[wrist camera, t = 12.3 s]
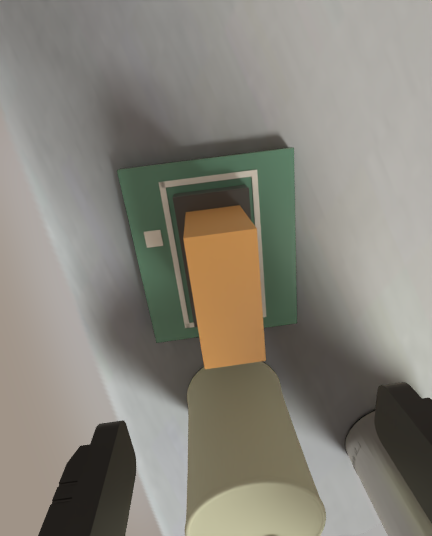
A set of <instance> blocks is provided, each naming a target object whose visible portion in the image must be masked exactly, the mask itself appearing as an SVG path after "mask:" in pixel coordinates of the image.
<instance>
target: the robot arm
mask: <svg viewBox="0 0 432 536" xmlns="http://www.w3.org/2000/svg"><path fill="white" fill-rule="evenodd" d="M345 445H346V451H347V453H348V456H349V458H350V460H351V462H352V464H353V467H354V469H355V471H356V473H357V475H358V476H359V478H360V480H361V482H362V484H363V486H364V488H365V490H366V492H367V494H368V496H369V498H370V500H371V502H372V504H373V506H374V508H375V510H376V512H377V514H378V517H379V519H380V521H381V523H382V525H383V526H384V528H385V531H386V533H387V534H388V536H432V400H431V399H430V398H423V399H422V398H421V397H420V396H419V395H418V394H417V393H416V392H415V391H414V389H413V388H412V387H411V386H410V385H409V384H407V383H405V382H402V383H395V384H387V385H380V386H379V387H378V391H377V400H376V409H375V411H373V412H371V413H369V414H368V415H366V416H364V417H363V418H361V419H360V420H359V421H358V422H357V423H356V424H355V425H354V426H353V427H352V429H351V430H350V431H349V433H348V436H347V438H346V443H345ZM135 476H136V456H135V452H134V449H133V445H132V442H131V439H130V436H129V432H128V429H127V426H126V423H125V422H124V421H117V422H110V423H102V424H99V425H98V426H97V427H96V430H95V432H94V435H93V438H92V441H91V444H90V445H83V446H80V447H79V448H78V450H77V451H76V452H75V454H74V455H73V456H72V457H71V459H70V460H69V462H68V463H67V465H66V467H65V470H64V472H63V475H62V477H61V479H60V482H59V487H57V490H56V492H55V495H54V497H53V500H52V501H53V502H52V504H51V505H50V507H49V510H48V512H47V515H46V517H45V520H44V522H43V525H42V528H41V530H40V532H39V535H38V536H125V532H126V527H127V522H128V516H129V510H130V505H131V499H132V493H133V487H134V482H135Z"/></svg>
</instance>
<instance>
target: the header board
mask: <svg viewBox="0 0 432 536" xmlns="http://www.w3.org/2000/svg"><path fill="white" fill-rule="evenodd" d="M117 173H118V177H119V181H120V186H121V190H122V194H123V199H124V203H125V207H126V212H127V216H128V221H129V225H130V229H131V234H132V238H133V242H134V247H135V251H136V255H137V260H138V264H139V269H140V273H141V277H142V282H143V286H144V290H145V295H146V299H147V303H148V308H149V312H150V317H151V321H152V325H153V330H154V334H155V338H156V343H159V342H166V341H173V340H181V339H188V338H195V337H199V331H198V325H197V319H196V313H195V307H194V301H193V295H192V289H191V283H190V276H189V270H188V264H187V258H186V252H185V246H184V240H183V236H184V226H185V215H186V212H191V211H199V210H207V209H214V208H222V207H229V206H237V205H240V206H241V208H242V209H243V210H244V212H245V213H246V215H247V216H248V217H249V219H250V220H251V221H252V223H253V224H254V225H255V227H256V228H257V237H258V252H259V267H260V282H261V296H262V311H263V326H264V328H267V327H274V326H281V325H288V324H296V323H297V294H296V240H295V186H294V148H281V149H273V150H265V151H257V152H249V153H242V154H234V155H226V156H218V157H210V158H202V159H194V160H187V161H179V162H171V163H163V164H155V165H147V166H139V167H132V168H124V169H119V170H117Z"/></svg>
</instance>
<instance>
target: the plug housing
mask: <svg viewBox="0 0 432 536" xmlns="http://www.w3.org/2000/svg"><path fill="white" fill-rule="evenodd" d="M183 240H184V246H185V252H186V258H187V264H188V270H189V276H190V283H191V289H192V295H193V301H194V307H195V313H196V319H197V325H198V331H199V337H200V344H201V350H202V356H203V362H204V368H205V369H211V368H219V367H226V366H233V365H240V364H247V363H254V362H261V361H266V355H265V341H264V326H263V311H262V296H261V282H260V267H259V252H258V237H257V228H256V227H255V225H254V224H253V223H252V221H251V220H250V219H249V217H248V216H247V215H246V213H245V212H244V210H243V209H242V208H241V206H240V205H237V206H229V207H222V208H214V209H207V210H199V211H191V212H186V215H185V226H184V236H183Z"/></svg>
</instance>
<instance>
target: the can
mask: <svg viewBox="0 0 432 536" xmlns="http://www.w3.org/2000/svg"><path fill="white" fill-rule="evenodd" d="M187 403H188V415H189V422H188V480H187V514H186V524H185V536H320V535H321V533H322V531H323V528H324V526H325V521H326V512H325V508H324V505H323V503H322V501H321V499H320V497H319V494H318V492H317V489H316V487H315V484H314V481H313V479H312V476H311V473H310V471H309V468H308V465H307V463H306V460H305V457H304V454H303V452H302V449H301V446H300V443H299V440H298V438H297V435H296V432H295V429H294V427H293V424H292V421H291V418H290V415H289V412H288V409H287V407H286V404H285V401H284V398H283V395H282V391H281V385H280V381H279V379H278V377H277V375H276V373H275V372H274V371H273V370H272V369H271V368H270V367H269V366H268V365H266V364H265V363H263V362H254V363H247V364H240V365H233V366H226V367H219V368H211V369H205V368H204V367H203V368H202V369H201V370H200V371H199V372H197V374H196V375H195V376H194V377H193V379H192V380H191V382H190V384H189V387H188V391H187Z"/></svg>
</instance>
